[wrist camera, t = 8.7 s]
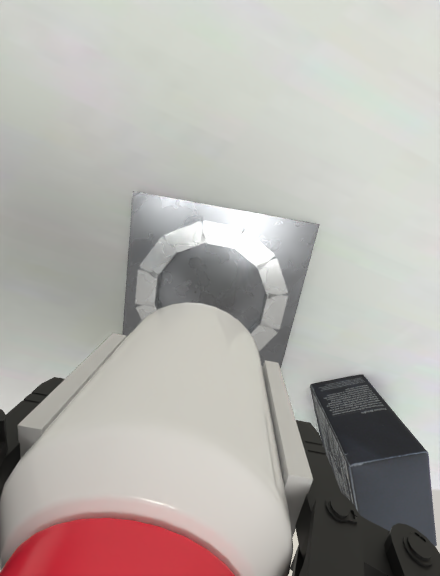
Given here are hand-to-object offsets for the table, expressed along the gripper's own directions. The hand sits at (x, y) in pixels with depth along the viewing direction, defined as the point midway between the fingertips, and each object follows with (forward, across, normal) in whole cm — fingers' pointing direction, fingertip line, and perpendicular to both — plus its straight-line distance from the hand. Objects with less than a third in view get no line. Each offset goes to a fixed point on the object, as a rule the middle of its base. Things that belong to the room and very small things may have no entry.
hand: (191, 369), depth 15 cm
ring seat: (+14, 0, 0) cm, 14 cm away
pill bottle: (0, 0, 0) cm, 0 cm away
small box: (+14, +18, -12) cm, 26 cm away
